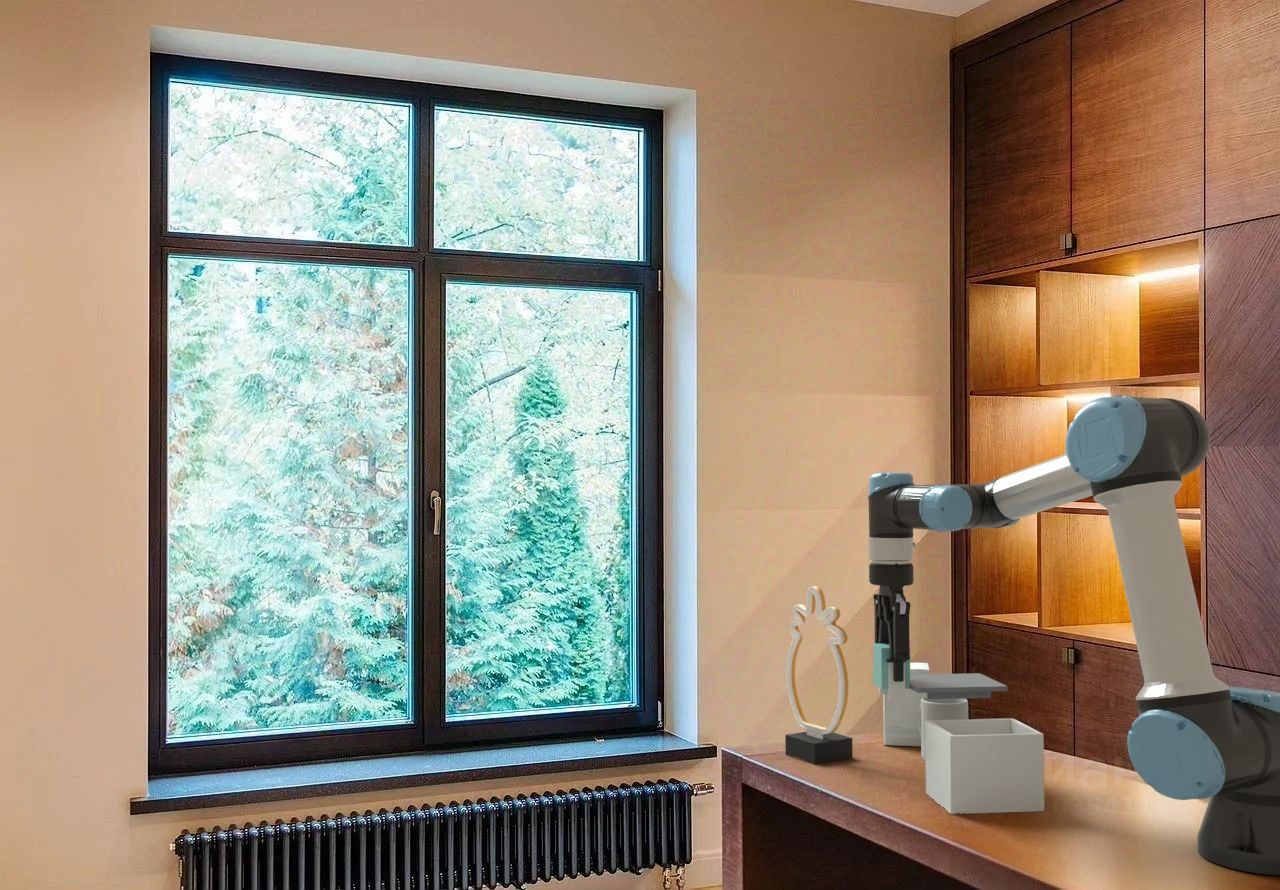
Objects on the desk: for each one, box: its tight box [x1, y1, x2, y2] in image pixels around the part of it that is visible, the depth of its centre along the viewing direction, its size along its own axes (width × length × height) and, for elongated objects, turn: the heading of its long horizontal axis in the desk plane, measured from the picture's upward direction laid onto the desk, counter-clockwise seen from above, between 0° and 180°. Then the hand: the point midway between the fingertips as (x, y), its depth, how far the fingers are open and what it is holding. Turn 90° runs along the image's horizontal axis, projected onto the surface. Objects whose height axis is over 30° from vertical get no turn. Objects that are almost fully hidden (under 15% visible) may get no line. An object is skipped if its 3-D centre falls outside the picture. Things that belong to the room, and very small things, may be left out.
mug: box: [918, 696, 969, 762], centre depth 225 cm, size 12×8×11 cm
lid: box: [872, 643, 1009, 699], centre depth 210 cm, size 13×21×8 cm, turn 95°
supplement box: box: [882, 662, 931, 748], centre depth 238 cm, size 9×9×15 cm
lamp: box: [785, 585, 854, 765], centre depth 227 cm, size 17×9×32 cm, turn 30°
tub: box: [925, 717, 1045, 815], centre depth 195 cm, size 12×15×12 cm
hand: (891, 696), depth 209 cm, fingers closed on lid, 5 cm apart
